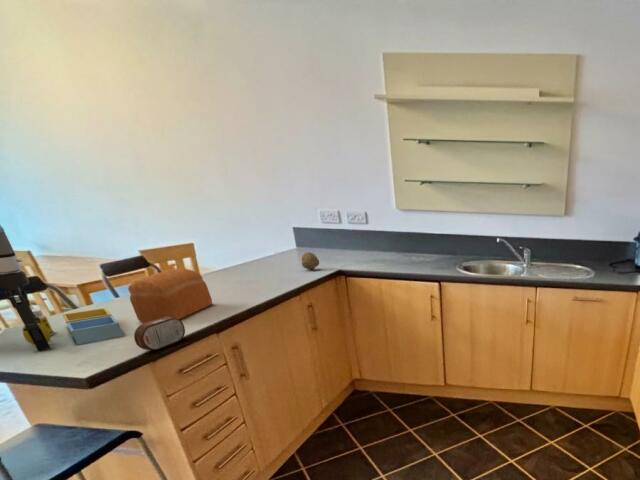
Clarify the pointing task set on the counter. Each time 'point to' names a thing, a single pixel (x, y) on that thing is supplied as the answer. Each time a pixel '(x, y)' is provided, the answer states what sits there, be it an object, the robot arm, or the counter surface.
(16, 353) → the counter surface
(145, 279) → the bread
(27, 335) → the lemon
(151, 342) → the tin
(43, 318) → the supplement bottle
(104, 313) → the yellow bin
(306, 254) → the natural sponge
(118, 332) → the blue bin
